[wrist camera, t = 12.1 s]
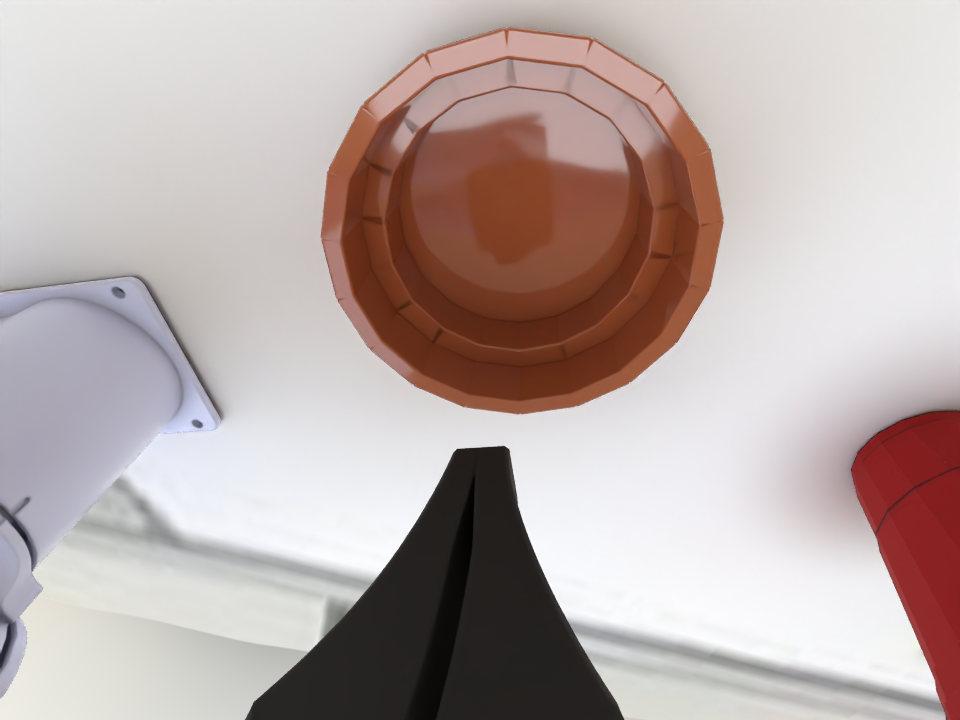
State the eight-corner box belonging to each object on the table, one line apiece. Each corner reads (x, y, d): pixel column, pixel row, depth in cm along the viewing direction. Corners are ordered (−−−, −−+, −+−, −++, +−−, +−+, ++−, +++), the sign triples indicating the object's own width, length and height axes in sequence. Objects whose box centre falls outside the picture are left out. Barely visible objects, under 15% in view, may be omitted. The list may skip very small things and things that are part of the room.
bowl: (569, 380, 21) (579, 457, 18) (329, 271, 19) (280, 330, 16) (749, 140, 16) (821, 176, 12) (435, -50, 14) (400, -81, 10)
